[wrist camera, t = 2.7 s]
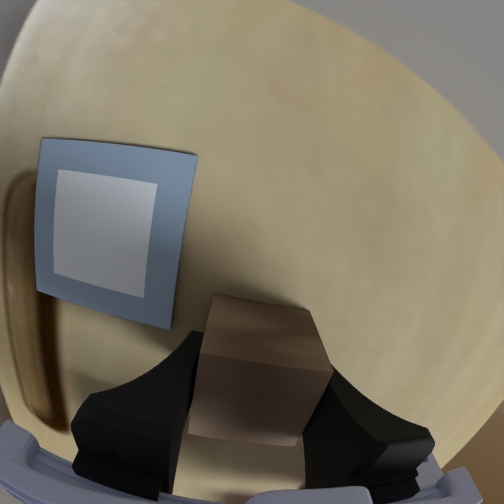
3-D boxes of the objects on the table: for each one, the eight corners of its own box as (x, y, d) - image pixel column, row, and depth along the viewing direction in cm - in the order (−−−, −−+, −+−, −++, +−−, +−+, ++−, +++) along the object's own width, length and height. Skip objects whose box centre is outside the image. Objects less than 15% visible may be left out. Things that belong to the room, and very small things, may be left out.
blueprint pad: (198, 155, 11) (196, 155, 11) (171, 326, 14) (170, 330, 13) (45, 138, 11) (41, 138, 10) (39, 288, 13) (36, 290, 13)
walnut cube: (309, 310, 13) (333, 371, 9) (284, 381, 15) (294, 446, 10) (213, 293, 13) (200, 352, 9) (200, 368, 14) (187, 433, 10)
